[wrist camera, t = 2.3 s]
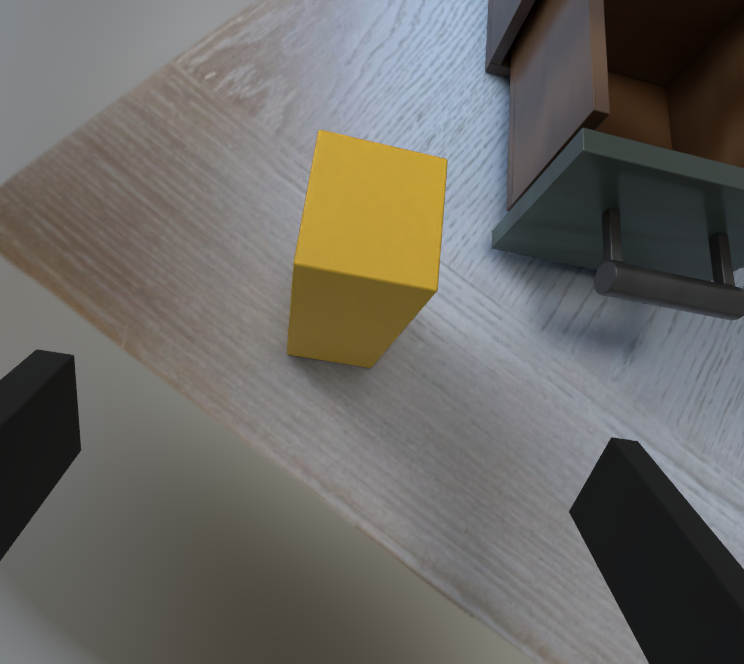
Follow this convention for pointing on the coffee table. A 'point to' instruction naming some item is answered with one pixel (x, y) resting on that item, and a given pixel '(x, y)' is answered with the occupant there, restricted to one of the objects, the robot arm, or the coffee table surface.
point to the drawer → (631, 148)
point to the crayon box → (364, 248)
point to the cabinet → (504, 32)
